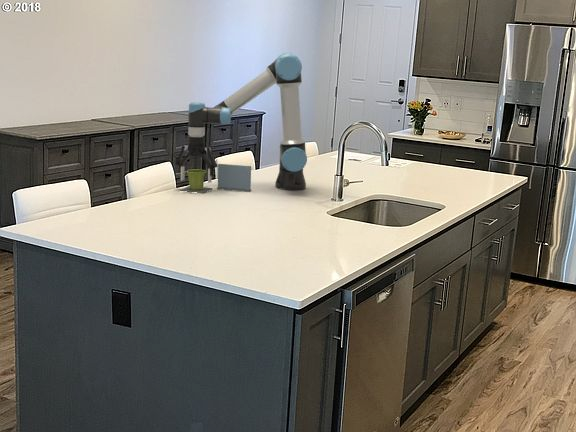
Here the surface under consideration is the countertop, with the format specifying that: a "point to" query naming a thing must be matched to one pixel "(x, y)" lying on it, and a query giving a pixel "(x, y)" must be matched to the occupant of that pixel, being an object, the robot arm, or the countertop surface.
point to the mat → (196, 190)
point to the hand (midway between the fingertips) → (196, 181)
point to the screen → (234, 177)
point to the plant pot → (196, 178)
